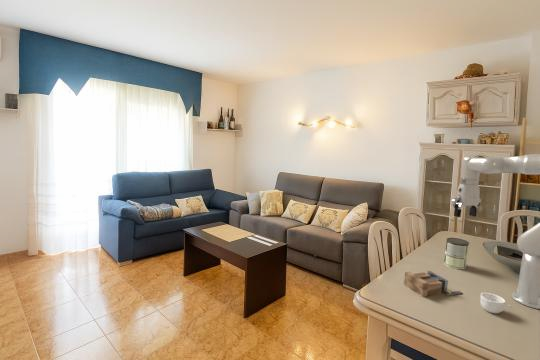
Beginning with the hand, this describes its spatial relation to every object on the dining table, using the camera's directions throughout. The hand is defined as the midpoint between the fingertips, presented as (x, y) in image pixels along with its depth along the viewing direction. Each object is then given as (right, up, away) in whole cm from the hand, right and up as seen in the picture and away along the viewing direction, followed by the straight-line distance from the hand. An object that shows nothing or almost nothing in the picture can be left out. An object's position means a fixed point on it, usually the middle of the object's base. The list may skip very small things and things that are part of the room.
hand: (464, 216), depth 144 cm
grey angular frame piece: (-24, -31, -13) cm, 41 cm away
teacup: (-7, -35, -29) cm, 45 cm away
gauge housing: (-23, -32, -12) cm, 41 cm away
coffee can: (+4, -29, +15) cm, 33 cm away
